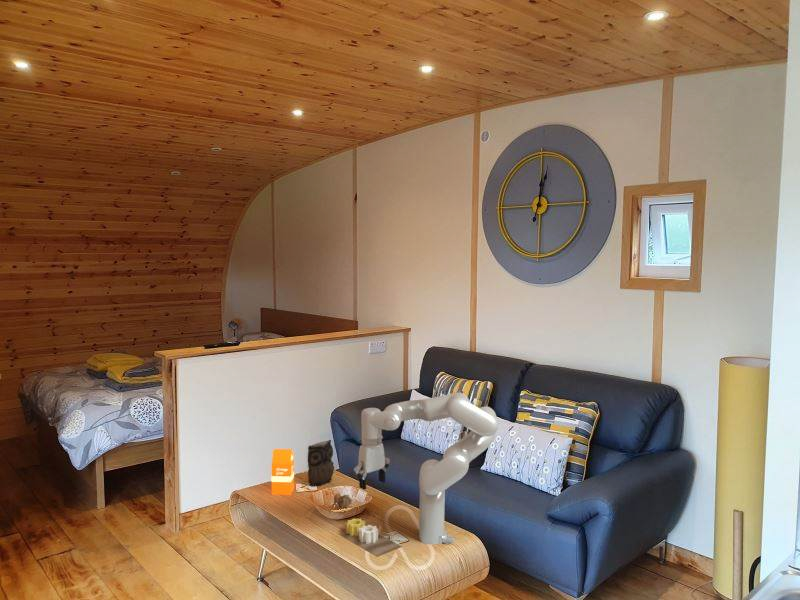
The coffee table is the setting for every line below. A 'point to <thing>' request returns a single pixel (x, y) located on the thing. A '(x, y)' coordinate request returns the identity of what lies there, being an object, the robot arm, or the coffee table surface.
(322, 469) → the owl
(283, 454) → the orange juice
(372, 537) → the loose gear
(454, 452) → the robot arm
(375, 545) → the gear board
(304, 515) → the coffee table surface
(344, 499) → the lion figurine
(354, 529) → the gear
